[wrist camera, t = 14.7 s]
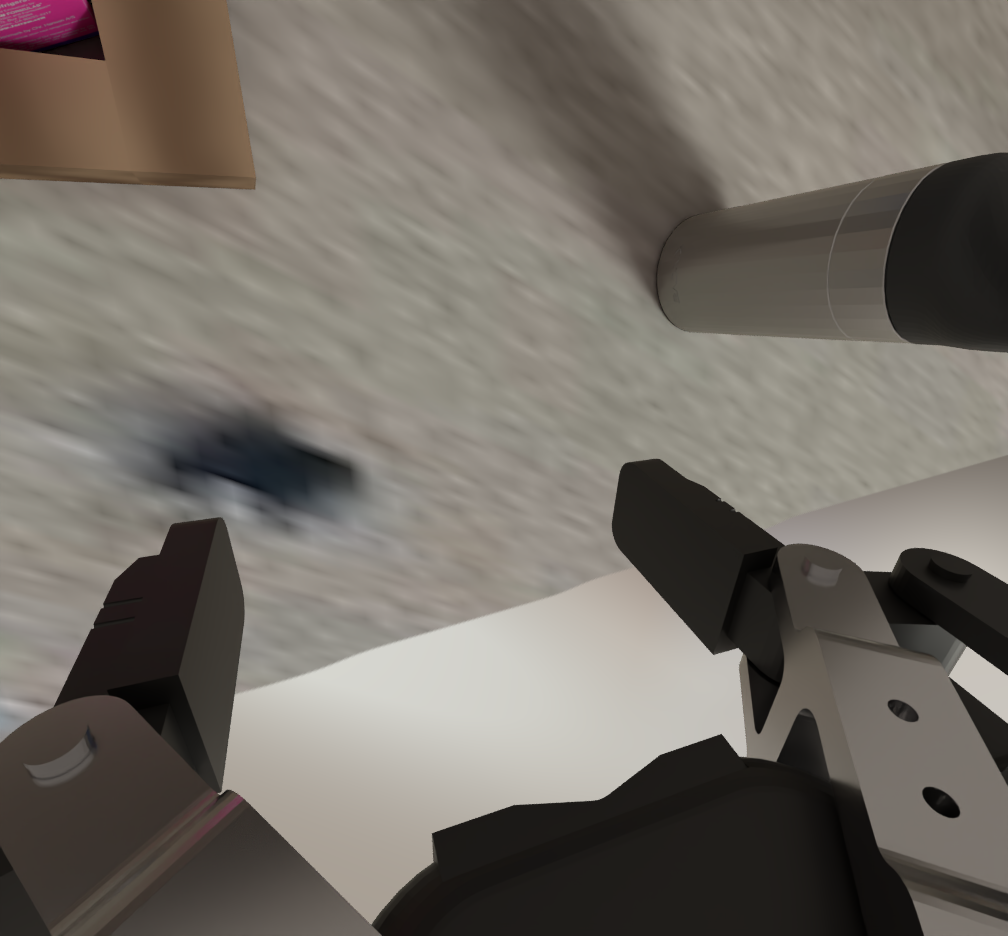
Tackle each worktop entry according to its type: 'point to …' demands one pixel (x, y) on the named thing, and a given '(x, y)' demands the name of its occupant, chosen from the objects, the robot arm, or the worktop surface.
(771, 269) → the robot arm
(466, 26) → the worktop surface
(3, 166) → the wooden square frame
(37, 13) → the supplement box
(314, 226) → the worktop surface
